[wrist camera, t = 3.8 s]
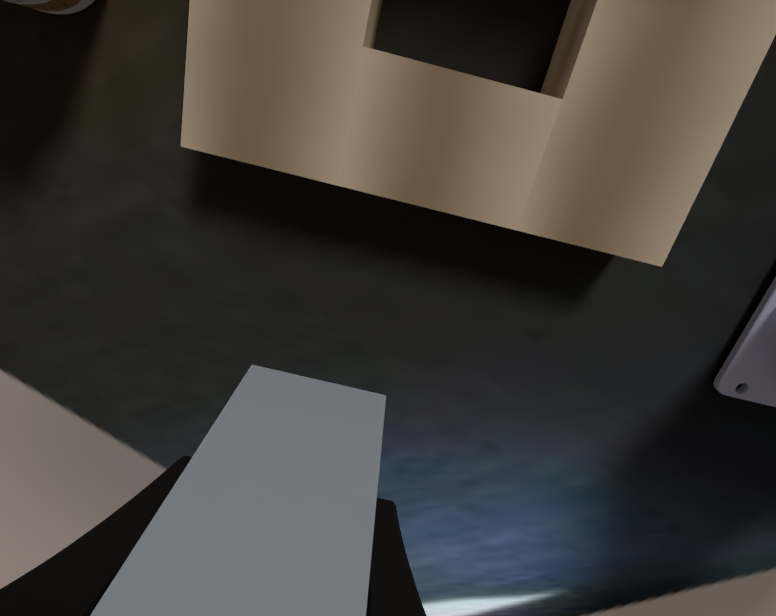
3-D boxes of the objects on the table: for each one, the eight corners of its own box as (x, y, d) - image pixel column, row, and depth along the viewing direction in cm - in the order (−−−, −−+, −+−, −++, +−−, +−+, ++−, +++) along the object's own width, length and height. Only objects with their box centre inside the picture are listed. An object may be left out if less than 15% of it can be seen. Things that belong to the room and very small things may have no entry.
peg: (386, 395, 14) (356, 722, 6) (357, 496, 15) (306, 855, 8) (252, 364, 14) (59, 663, 6) (236, 470, 15) (67, 812, 8)
